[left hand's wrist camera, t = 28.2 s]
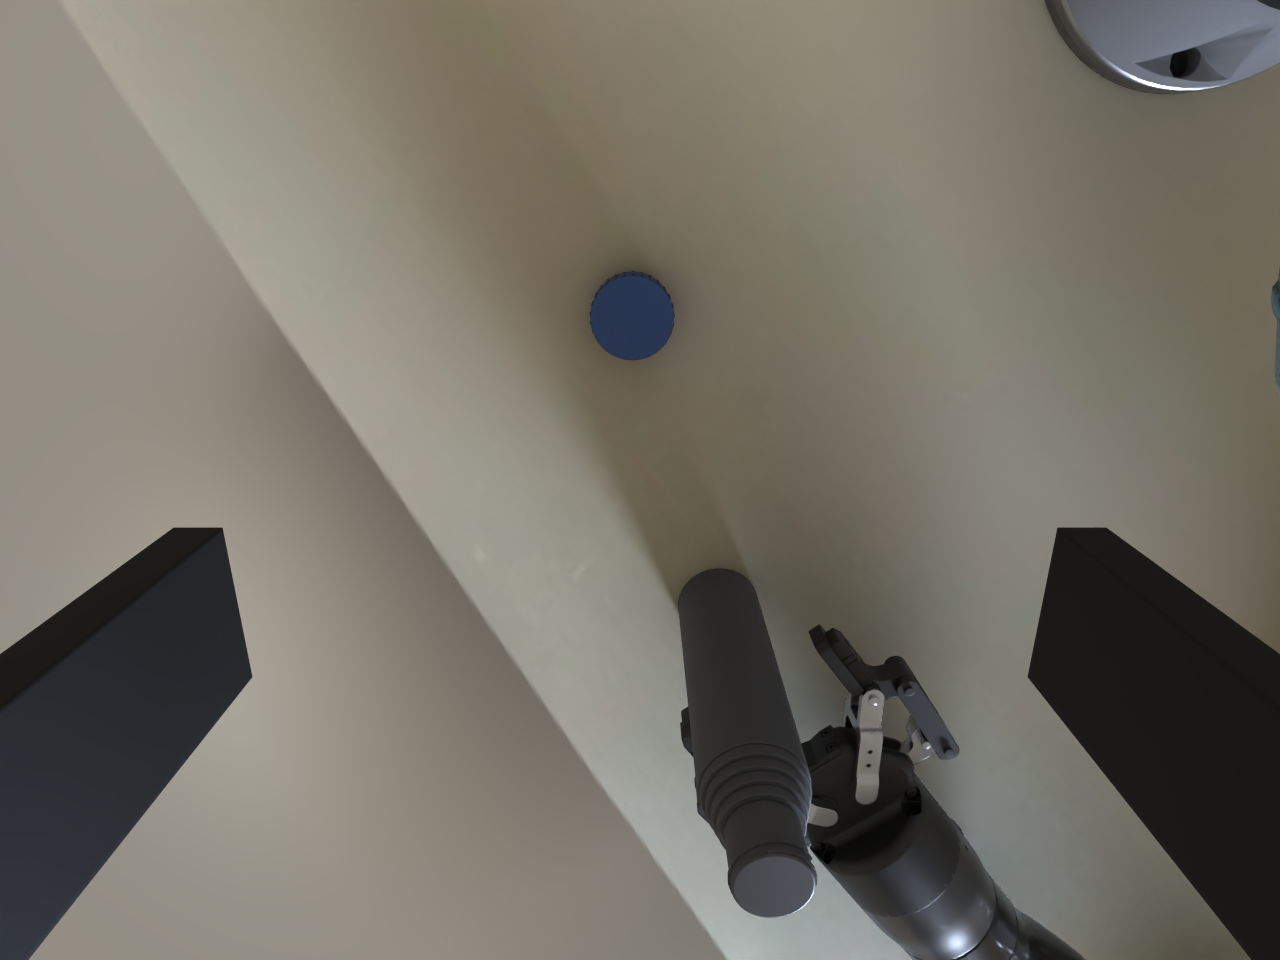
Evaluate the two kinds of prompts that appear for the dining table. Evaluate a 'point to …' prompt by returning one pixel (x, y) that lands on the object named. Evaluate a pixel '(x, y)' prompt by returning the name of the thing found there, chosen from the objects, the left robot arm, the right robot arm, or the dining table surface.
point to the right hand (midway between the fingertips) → (750, 676)
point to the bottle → (746, 745)
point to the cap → (632, 316)
